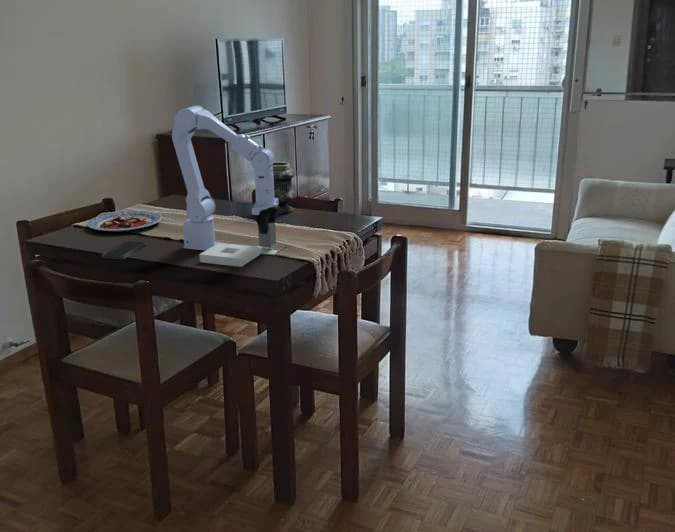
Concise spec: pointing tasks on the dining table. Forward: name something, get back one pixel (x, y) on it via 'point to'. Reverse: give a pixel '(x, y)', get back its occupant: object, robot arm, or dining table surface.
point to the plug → (268, 236)
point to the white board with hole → (230, 254)
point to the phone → (123, 250)
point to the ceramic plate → (123, 221)
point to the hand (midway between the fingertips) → (266, 231)
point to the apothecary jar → (283, 185)
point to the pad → (267, 251)
